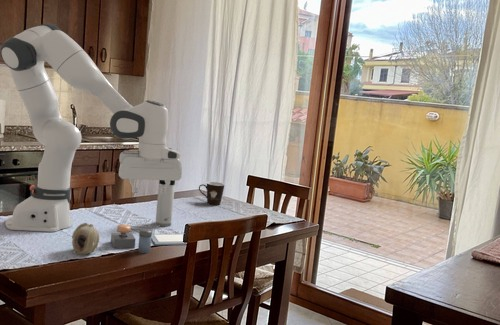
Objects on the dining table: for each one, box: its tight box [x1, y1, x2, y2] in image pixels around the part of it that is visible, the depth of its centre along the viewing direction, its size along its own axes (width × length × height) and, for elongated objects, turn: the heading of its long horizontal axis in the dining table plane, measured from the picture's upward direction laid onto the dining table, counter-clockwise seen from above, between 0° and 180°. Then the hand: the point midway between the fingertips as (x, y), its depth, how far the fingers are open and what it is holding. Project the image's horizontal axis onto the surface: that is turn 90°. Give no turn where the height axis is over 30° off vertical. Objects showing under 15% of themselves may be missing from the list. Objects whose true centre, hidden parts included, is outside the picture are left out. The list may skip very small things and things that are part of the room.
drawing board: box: [151, 233, 186, 246], centre depth 190 cm, size 14×11×1 cm
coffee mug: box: [198, 181, 225, 206], centre depth 253 cm, size 12×9×10 cm
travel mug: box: [155, 180, 176, 227], centre depth 207 cm, size 6×7×20 cm
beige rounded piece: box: [71, 222, 100, 256], centre depth 167 cm, size 9×8×10 cm
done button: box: [116, 224, 132, 237], centre depth 178 cm, size 4×4×5 cm
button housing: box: [110, 232, 136, 249], centre depth 179 cm, size 7×7×3 cm
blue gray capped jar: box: [137, 228, 153, 254], centre depth 174 cm, size 4×4×7 cm
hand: (149, 192), depth 172 cm, fingers open, 8 cm apart
